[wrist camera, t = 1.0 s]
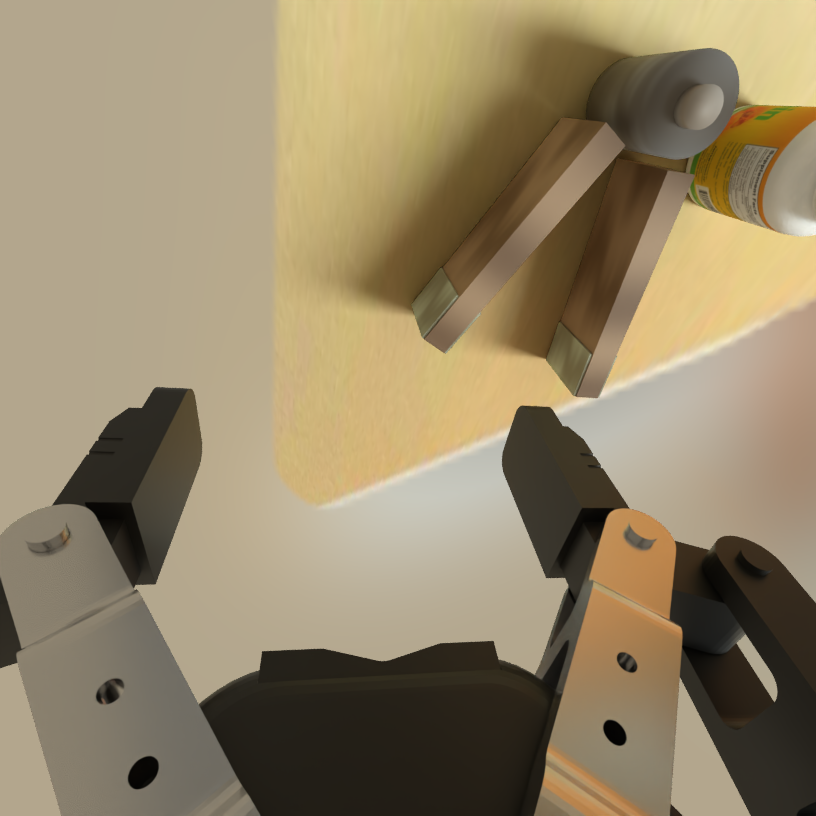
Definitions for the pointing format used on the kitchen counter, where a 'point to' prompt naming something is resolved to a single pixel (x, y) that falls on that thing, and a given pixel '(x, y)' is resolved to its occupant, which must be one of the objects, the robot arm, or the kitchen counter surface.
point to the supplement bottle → (761, 169)
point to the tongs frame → (638, 197)
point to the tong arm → (514, 227)
